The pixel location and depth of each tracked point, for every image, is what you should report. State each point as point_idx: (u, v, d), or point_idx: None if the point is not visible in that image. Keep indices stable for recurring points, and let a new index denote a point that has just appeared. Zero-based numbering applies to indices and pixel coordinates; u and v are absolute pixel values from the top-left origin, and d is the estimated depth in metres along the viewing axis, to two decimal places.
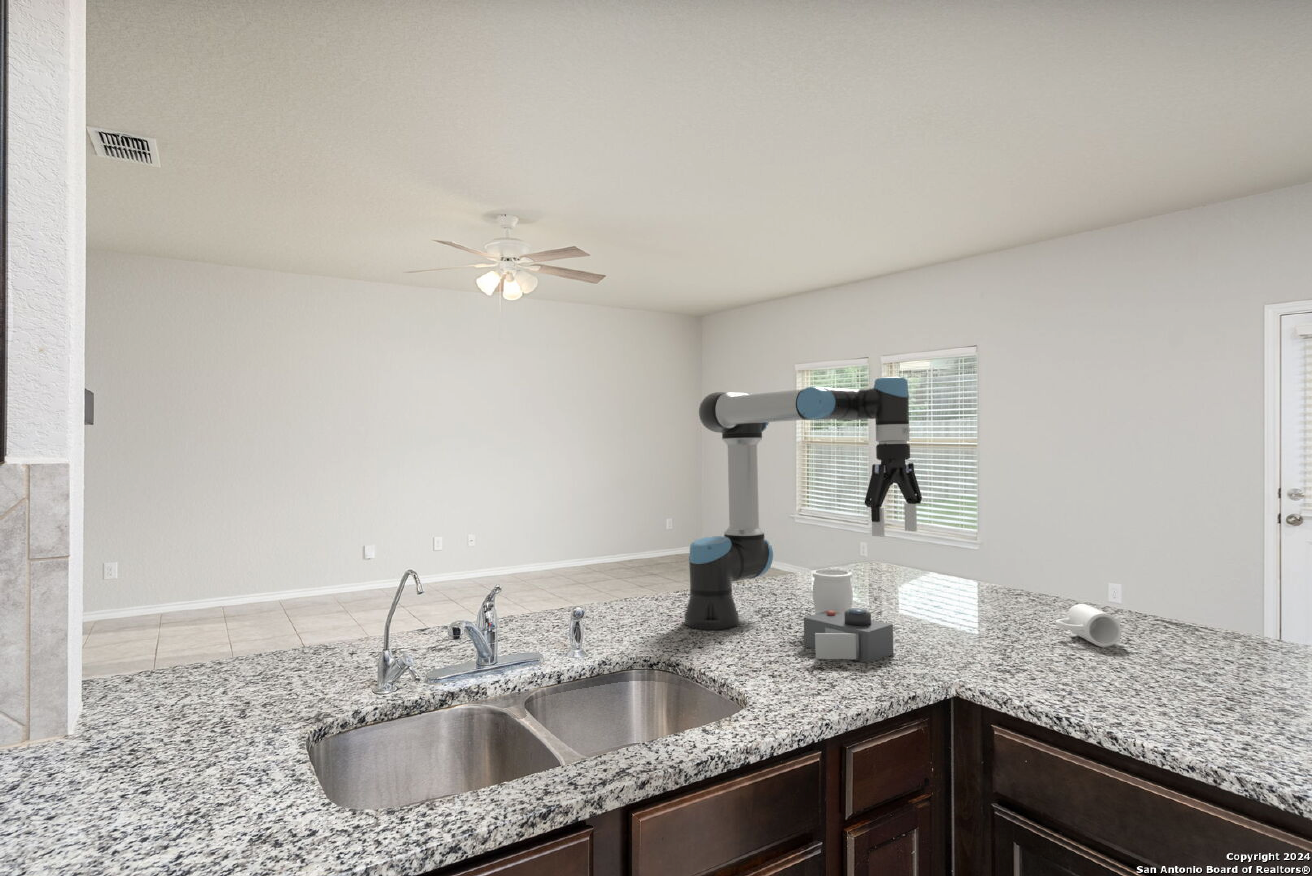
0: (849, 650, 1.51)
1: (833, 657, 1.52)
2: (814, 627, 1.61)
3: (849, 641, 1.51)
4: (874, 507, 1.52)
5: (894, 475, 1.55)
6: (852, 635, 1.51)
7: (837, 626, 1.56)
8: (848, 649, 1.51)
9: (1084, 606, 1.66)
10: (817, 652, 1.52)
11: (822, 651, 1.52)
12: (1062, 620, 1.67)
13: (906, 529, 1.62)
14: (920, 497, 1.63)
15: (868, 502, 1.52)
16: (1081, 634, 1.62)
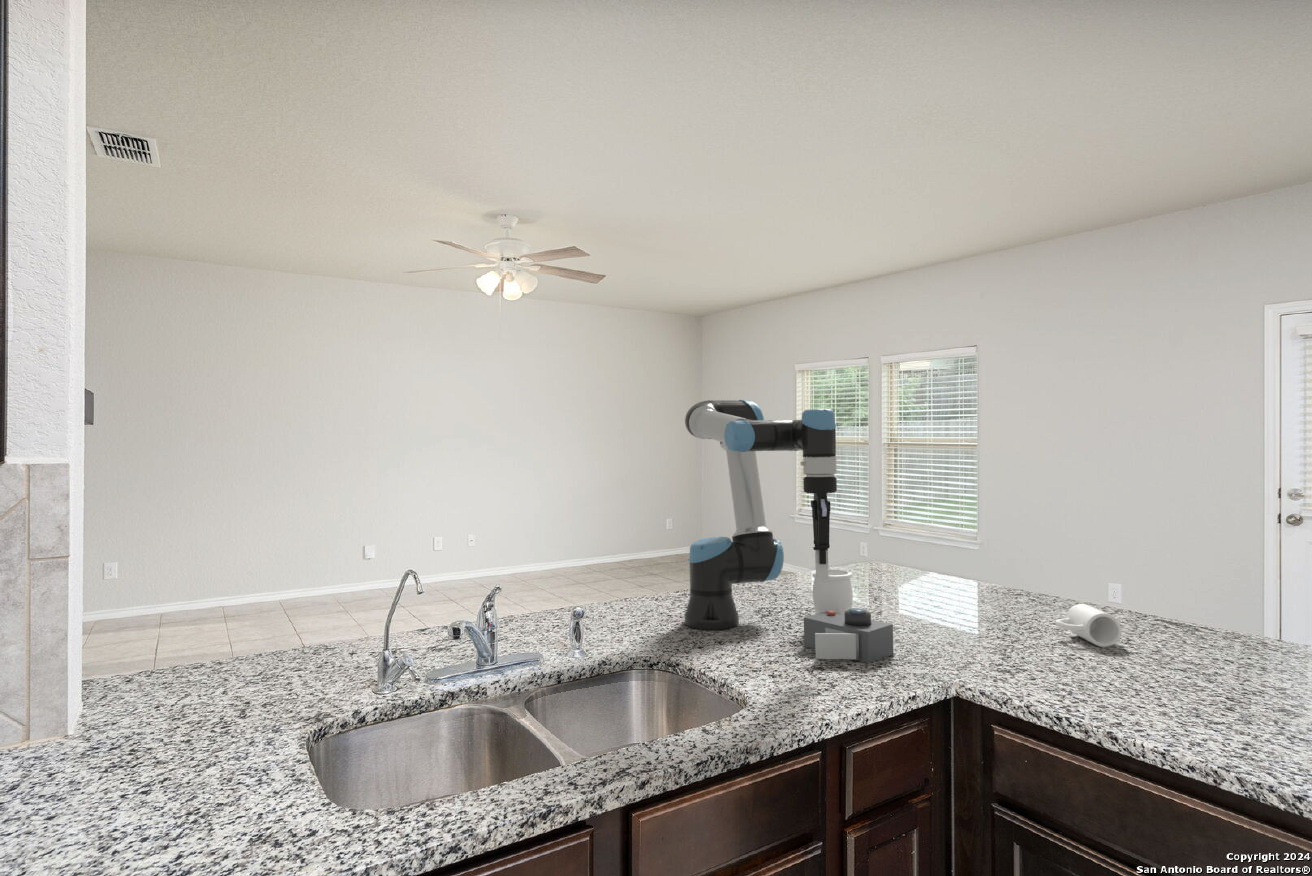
0: (849, 650, 1.51)
1: (833, 657, 1.52)
2: (814, 627, 1.61)
3: (849, 641, 1.51)
4: None
5: (812, 509, 1.57)
6: (852, 635, 1.51)
7: (837, 626, 1.56)
8: (848, 649, 1.51)
9: (1084, 606, 1.66)
10: (817, 652, 1.52)
11: (822, 651, 1.52)
12: (1062, 620, 1.67)
13: None
14: (817, 544, 1.53)
15: None
16: (1081, 634, 1.62)
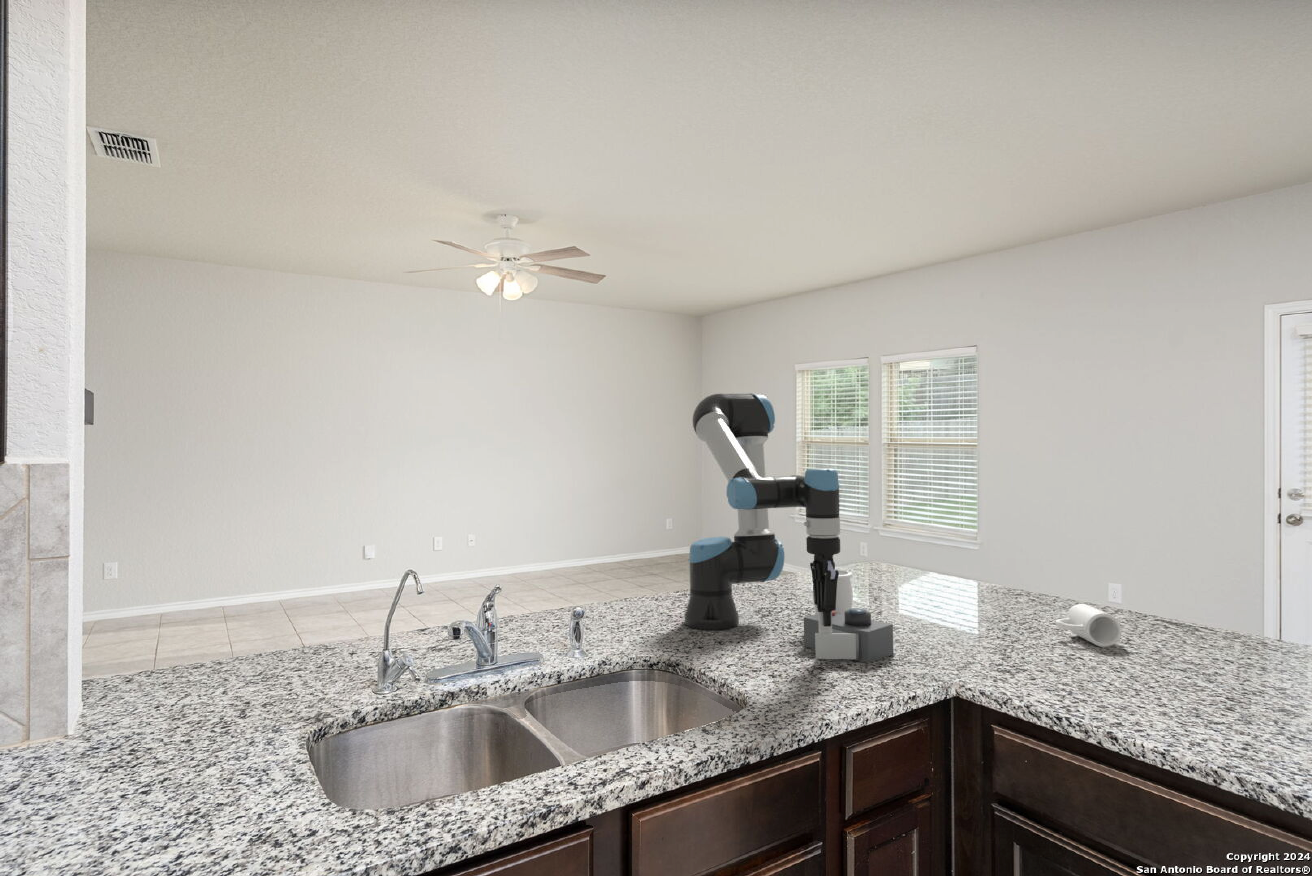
0: (849, 650, 1.51)
1: (833, 657, 1.52)
2: (814, 627, 1.61)
3: (849, 641, 1.51)
4: None
5: (814, 569, 1.55)
6: (852, 635, 1.51)
7: (837, 626, 1.56)
8: (848, 649, 1.51)
9: (1084, 606, 1.66)
10: (817, 652, 1.52)
11: (822, 651, 1.52)
12: (1062, 620, 1.67)
13: None
14: (823, 607, 1.50)
15: None
16: (1081, 634, 1.63)
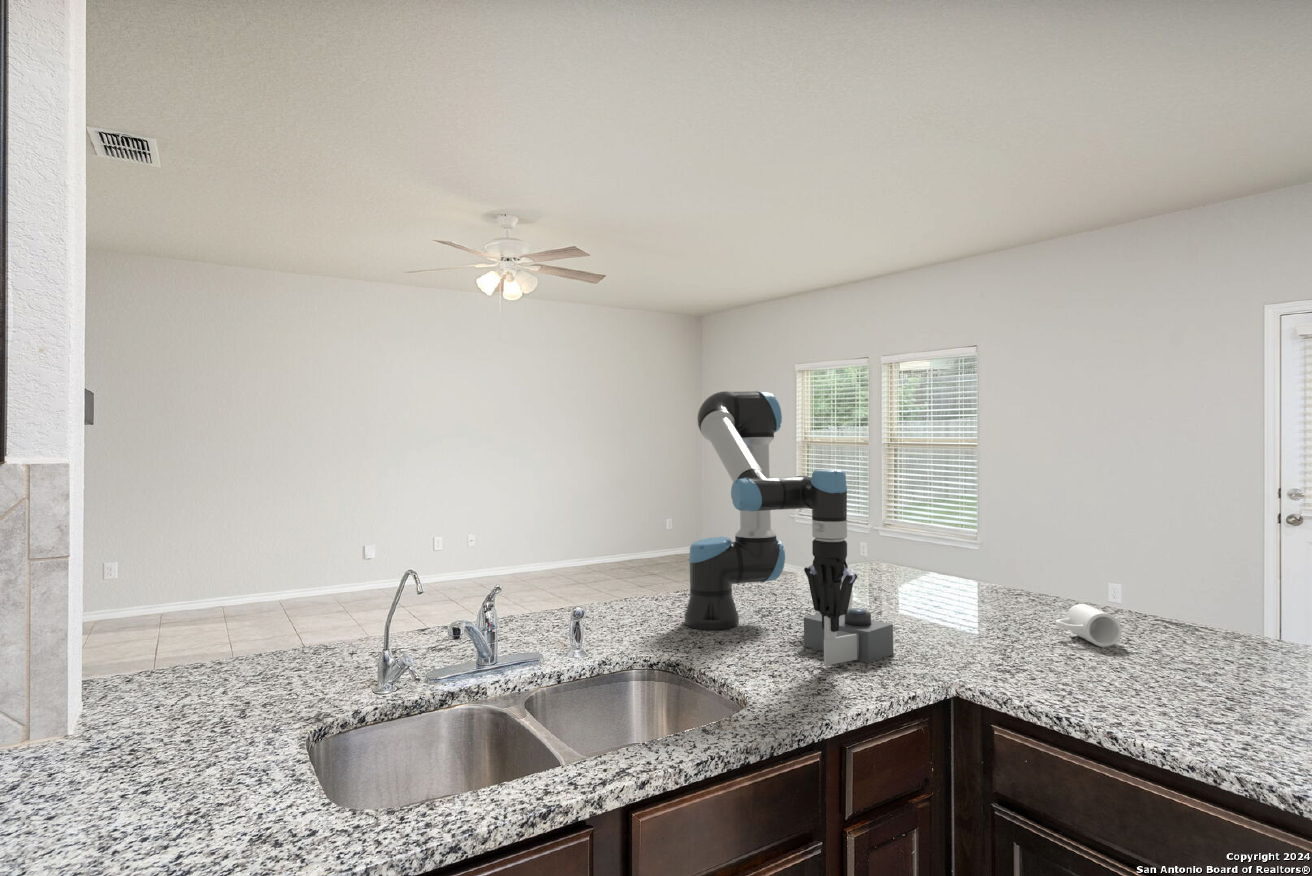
0: (852, 651, 1.50)
1: (839, 661, 1.49)
2: (814, 627, 1.61)
3: (851, 642, 1.50)
4: None
5: (819, 574, 1.50)
6: (854, 636, 1.51)
7: None
8: (851, 651, 1.50)
9: (1084, 606, 1.66)
10: (827, 658, 1.47)
11: (831, 657, 1.48)
12: (1062, 620, 1.67)
13: None
14: (837, 612, 1.46)
15: None
16: (1081, 634, 1.63)
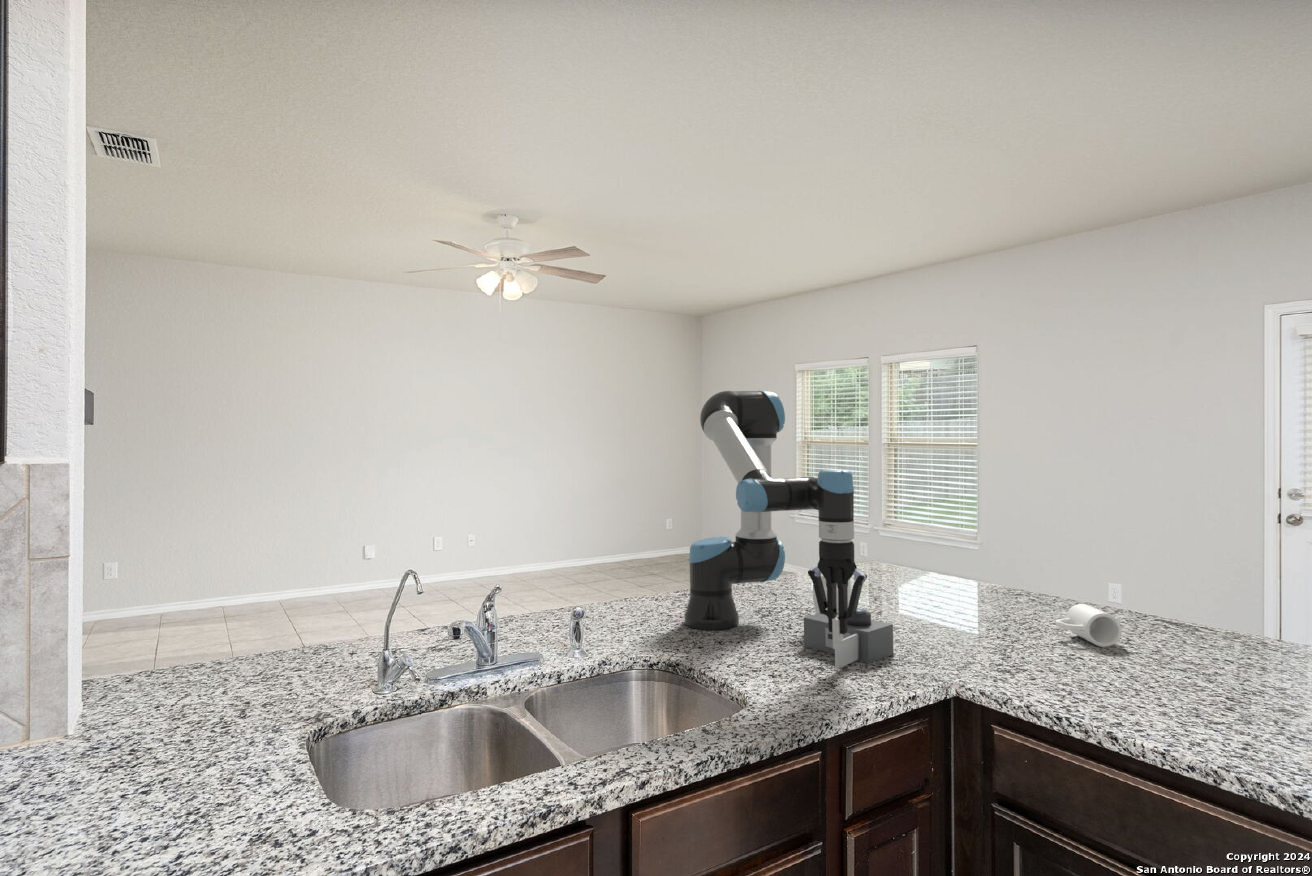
0: (854, 652, 1.50)
1: (846, 663, 1.47)
2: (814, 627, 1.61)
3: (854, 642, 1.50)
4: None
5: (827, 577, 1.47)
6: (855, 636, 1.50)
7: None
8: (854, 651, 1.50)
9: (1084, 606, 1.66)
10: (838, 662, 1.45)
11: (841, 659, 1.46)
12: (1062, 620, 1.67)
13: None
14: (848, 614, 1.45)
15: None
16: (1081, 634, 1.63)
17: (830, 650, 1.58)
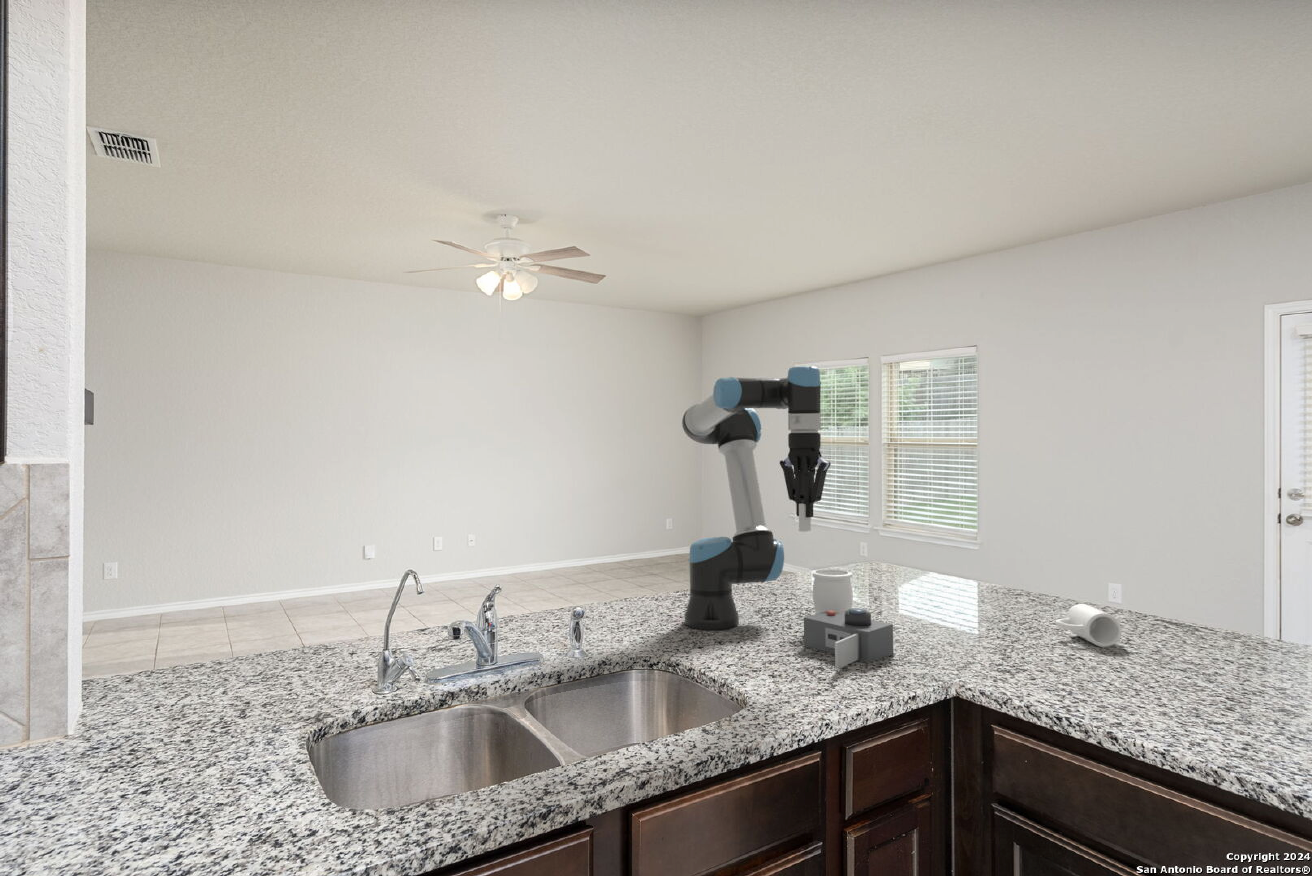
0: (854, 652, 1.50)
1: (846, 663, 1.47)
2: (814, 627, 1.61)
3: (854, 642, 1.50)
4: None
5: (795, 465, 1.60)
6: (855, 636, 1.50)
7: (837, 626, 1.56)
8: (854, 651, 1.50)
9: (1084, 606, 1.66)
10: (838, 662, 1.45)
11: (841, 659, 1.46)
12: (1062, 620, 1.67)
13: None
14: (812, 498, 1.57)
15: None
16: (1081, 634, 1.63)
17: (830, 650, 1.58)
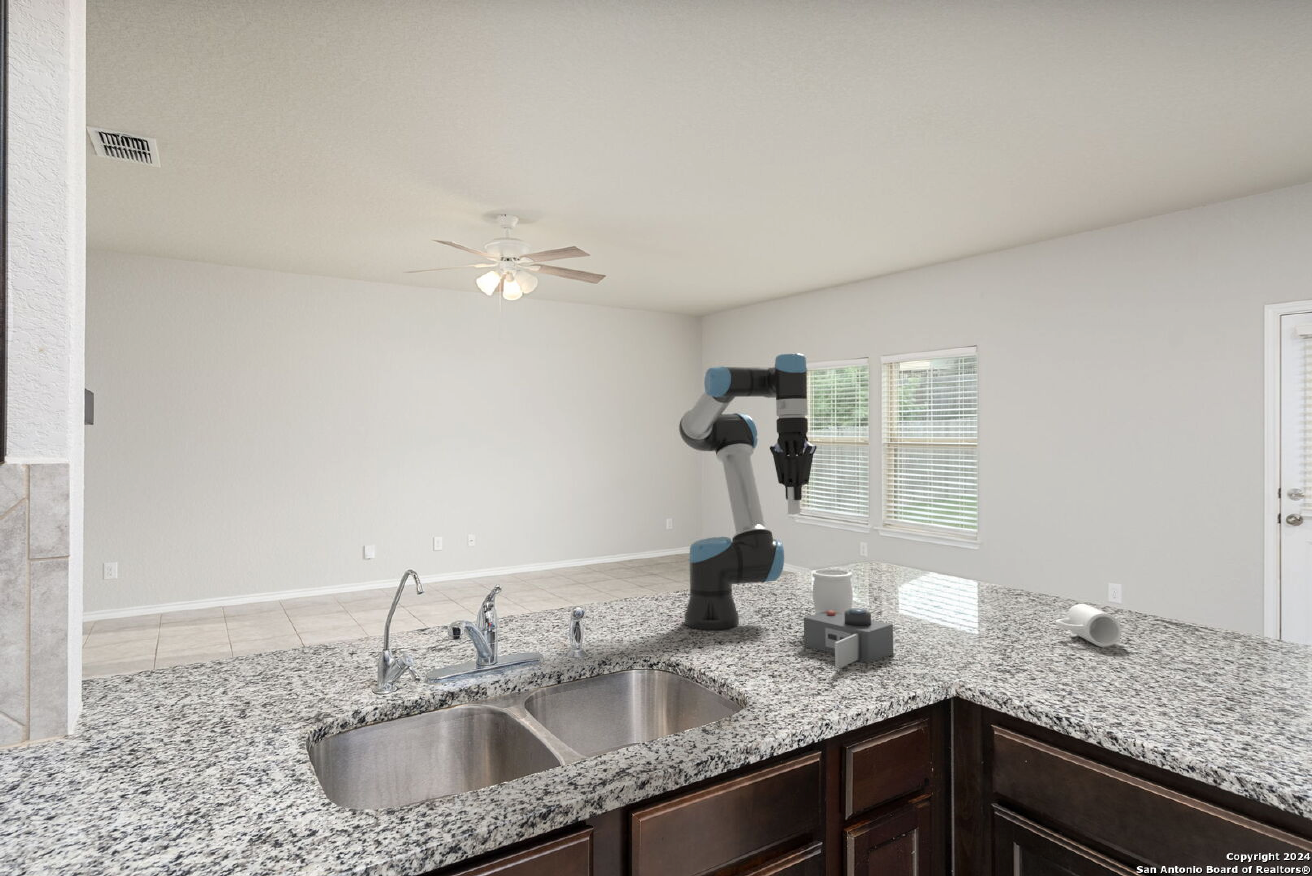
0: (854, 652, 1.50)
1: (846, 663, 1.47)
2: (814, 627, 1.61)
3: (854, 642, 1.50)
4: None
5: (783, 449, 1.64)
6: (855, 636, 1.50)
7: (837, 626, 1.56)
8: (854, 651, 1.50)
9: (1084, 606, 1.66)
10: (838, 662, 1.45)
11: (841, 659, 1.46)
12: (1062, 620, 1.67)
13: None
14: (800, 481, 1.61)
15: None
16: (1081, 634, 1.63)
17: (830, 650, 1.58)
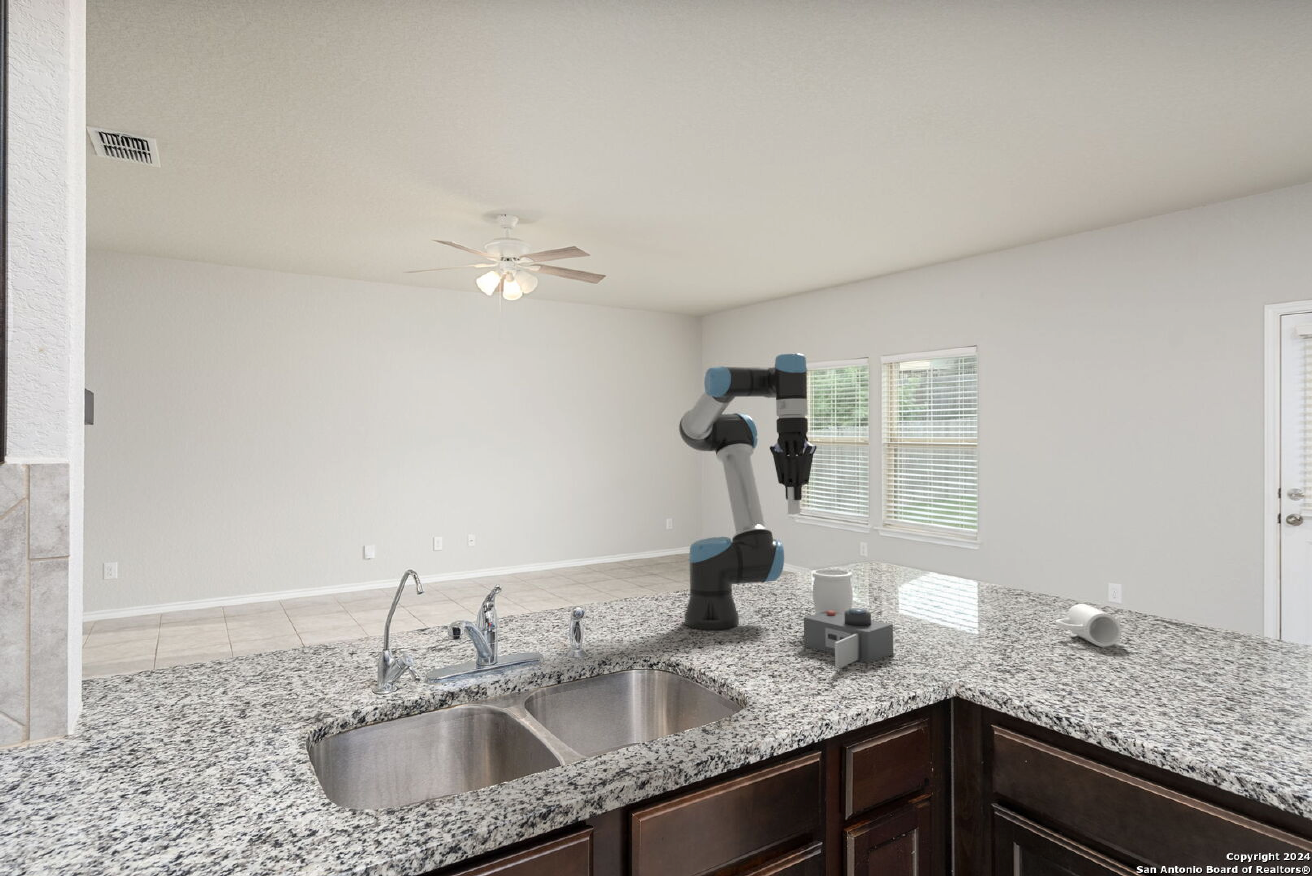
0: (854, 652, 1.50)
1: (846, 663, 1.47)
2: (814, 627, 1.61)
3: (854, 642, 1.50)
4: None
5: (783, 449, 1.64)
6: (855, 636, 1.50)
7: (837, 626, 1.56)
8: (854, 651, 1.50)
9: (1084, 606, 1.66)
10: (838, 662, 1.45)
11: (841, 659, 1.46)
12: (1062, 620, 1.67)
13: None
14: (800, 481, 1.61)
15: None
16: (1081, 634, 1.63)
17: (830, 650, 1.58)
